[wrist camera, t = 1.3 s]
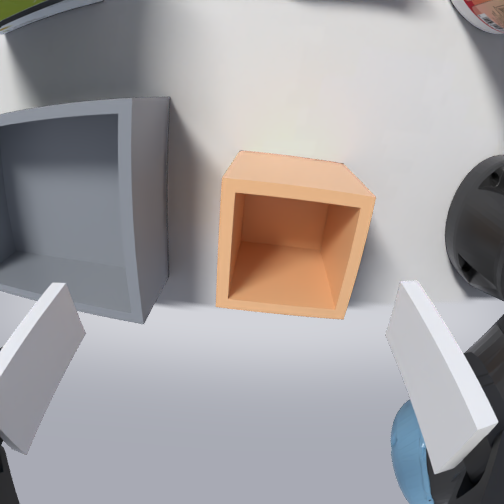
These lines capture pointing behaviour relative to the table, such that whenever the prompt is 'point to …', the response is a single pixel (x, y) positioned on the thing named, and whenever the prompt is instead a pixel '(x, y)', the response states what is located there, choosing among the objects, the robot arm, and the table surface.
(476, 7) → the fruit juice
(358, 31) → the table surface
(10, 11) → the tea box
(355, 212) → the small crate
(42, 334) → the robot arm
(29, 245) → the large crate
